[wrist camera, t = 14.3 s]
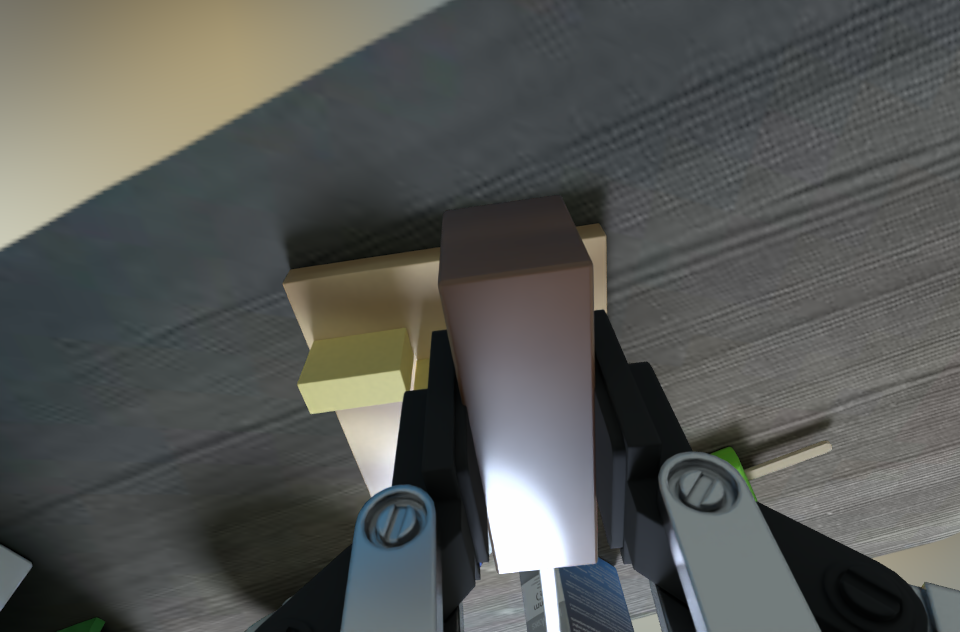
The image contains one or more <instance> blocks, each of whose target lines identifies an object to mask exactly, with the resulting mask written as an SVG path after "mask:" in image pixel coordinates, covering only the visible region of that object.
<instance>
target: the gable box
mask: <svg viewBox="0 0 960 632" xmlns="http://www.w3.org/2000/svg"><path fill="white" fill-rule="evenodd" d="M31 568H32V562H30V561H29V560H27V559H25V558H23V557H22V556H20V555H18V554H17V553H15V552H13V551H11V550H10V549H8V548H6V547H5V546H3V545H1V544H0V611H1V610H2V608H3V607H4V606H5V604H6V603H7V601H8V600H9V599H10V597H11V596H12V594H13V593H14V592H15V590H16V589H17V587H18V586H19V585H20V583H21V582H22V580H23V579H24V578H25V576H26V575H27V573H28V572H29V571H30V569H31Z"/></svg>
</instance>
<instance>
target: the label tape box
mask: <svg viewBox="0 0 960 632" xmlns="http://www.w3.org/2000/svg"><path fill="white" fill-rule="evenodd" d="M555 569H556V580H557V590H558V601H559V611H560V622H561V632H634V629H633V626H632V622H631V619H630V615H629V612H628V608H627V605H626V602H625V598H624V594H623V591H622V588H621V584H620V581H619V577H618V574H617V570H616V568H615V567H614V566H612V565H610V564H609V563H607V562H605V561H604V560H602V559H600V558H599V557H598V562H597V563H596V564H589V565H580V566H570V567H561V568H555ZM519 574H520V581H521V587H522V595H523V602H524V609H525V617H526V624H527V632H546V625H545V618H544V610H543V602H542V594H541V586H540V578H539V570H533V571H523V572H519Z"/></svg>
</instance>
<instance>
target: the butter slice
mask: <svg viewBox="0 0 960 632" xmlns="http://www.w3.org/2000/svg"><path fill="white" fill-rule="evenodd" d="M413 361H414V355H413V351H412V348H411V344H410V341H409V337H408V333H407V330H406V328H399V329H392V330H385V331H379V332H372V333H365V334H358V335H351V336H344V337H337V338H330V339H323V340H316V341H314V342H313V344H312V347H311V349H310V352H309V355H308V357H307V360H306V362H305V365H304V368H303V370H302V373H301V375H300V378H299V381H298V383H297V385H298V387H299V390H300V392H301V394H302V396H303V398H304V401H305V403H306V405H307V407H308V409H309V412H310V414H314V413H322V412H329V411H336V410H343V409H351V408H358V407H365V406H372V405H380V404H387V403H394V402H401V401H403V396H404V393H405V391H410V388H411V379H412V370H413Z"/></svg>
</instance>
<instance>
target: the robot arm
mask: <svg viewBox="0 0 960 632" xmlns="http://www.w3.org/2000/svg"><path fill="white" fill-rule="evenodd" d="M594 336H595V389H594V391H595V458H596V498H597V502H598V505H599V509H600V513H601V517H602V521H603V525H604V529H605V532H606V536H607V540H608V544H609V546H610V548H611V549H613V548H619V549H620V552H621V556H622V560H623V563H624V564H631V563H632V566H633V569H634V570H636V571H637V572H639V573H640V574H642V575H643V576H645V577H646V578H648V579H649V581H650V588H651V592H652V596H653V599H654V603H655V607H656V611H657V614H658V618H659V622H660V626H661V630H662V632H960V591H959V590H955V589H951V588H947V587H943V586H939V585H935V584H932V583H928V582H924V584H923V586H922V587H917V586H913V585H910V584H908V583H907V582H906V581H904V580H903V579H902V578H901V577H900V576H899V575H898V574H897V573H895V572H894V571H892V570H891V569H889V568H887V567H886V566H884V565H883V564H880V563H879V562H877V561H875V560H873V559H871V558H869V557H867V556H865V555H863V554H861V553H859V552H857V551H855V550H853V549H851V548H849V547H847V546H845V545H843V544H841V543H839V542H837V541H835V540H833V539H831V538H829V537H827V536H825V535H823V534H821V533H819V532H817V531H815V530H813V529H811V528H809V527H807V526H805V525H803V524H801V523H799V522H797V521H795V520H793V519H791V518H789V517H787V516H785V515H783V514H781V513H779V512H777V511H775V510H773V509H771V508H769V507H767V506H765V505H763V504H761V503H759V502H757V501H755V499H754V497H753V495H752V493H751V491H750V489H749V487H748V485H747V483H746V481H745V480H744V478H743V477H742V475H741V474H740V473H739V471H738V470H737V469H736V468H734V467H733V466H732V465H731V464H730V463H728V462H727V461H725V460H723V459H721V458H719V457H717V456H715V455H711V454H708V453H704V452H693V451H692V449H691V447H690V445H689V443H688V441H687V439H686V436H685V434H684V432H683V430H682V428H681V426H680V424H679V422H678V420H677V418H676V416H675V414H674V412H673V410H672V408H671V406H670V403H669V401H668V399H667V397H666V395H665V393H664V391H663V389H662V387H661V385H660V383H659V381H658V379H657V377H656V375H655V373H654V370H653V368H652V367H651V365H650V363H648V362H639V363H631V364H628V363H627V360H626V358H625V356H624V353H623V351H622V349H621V346H620V344H619V342H618V339H617V337H616V335H615V332H614V330H613V328H612V325H611V323H610V321H609V318H608V316H607V314H606V312H605V310H604V309H601V310H594ZM482 562H489V543H488V523H487V508H486V503H485V498H484V493H483V488H482V482H481V477H480V472H479V467H478V462H477V457H476V452H475V447H474V442H473V437H472V432H471V427H470V422H469V417H468V412H467V407H466V405H463V404H462V401H461V396H460V391H459V387H458V382H457V377H456V372H455V367H454V362H453V357H452V353H451V348H450V343H449V338H448V333H447V329H445V330H437V331H432V335H431V348H430V362H429V375H428V388H427V389H419V390H411V391H405V393H404V396H403V402H402V409H401V417H400V425H399V432H398V440H397V447H396V455H395V463H394V470H393V478H392V486H391V487H388V488H385V489H383V490H382V491H380V492H378V493H376V494H375V495H374V496H372V497H371V498H370V499H369V500H368V501H367V502H366V503H365V504H364V506H363V507H362V509H361V510H360V512H359V514H358V517H357V520H356V524H355V530H354V537H353V543H352V544H351V545H350V546H348V547H347V548H346V549H345V550H344V551H343V552H342V553H341V554H339V555H338V556H337V557H336V558H335V559H334V560H333V561H332V562H331V563H329V564H328V565H327V566H326V567H325V568H324V569H323V570H322V571H320V572H319V573H318V574H317V575H316V576H315V577H314V578H313V579H311V580H310V581H309V582H308V583H307V584H306V585H305V586H304V587H303V588H301V589H300V590H299V591H298V592H297V593H296V594H295V595H294V596H292V597H291V598H290V599H289V600H288V601H287V602H286V603H285V604H284V605H282V606H281V607H280V608H279V609H278V610H277V611H276V612H275V613H273V614H272V615H271V616H270V617H269V618H268V619H267V620H266V621H264V622H263V623H262V624H261V625H260V626H259V627H258V628H257V629H256V630H255V631H254V632H464V619H463V604H462V600H463V599H464V598H465V597H466V596H467V595H468V594H469V592H470V591H471V590H472V589H473V588H474V587H475V580H480V563H482Z"/></svg>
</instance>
